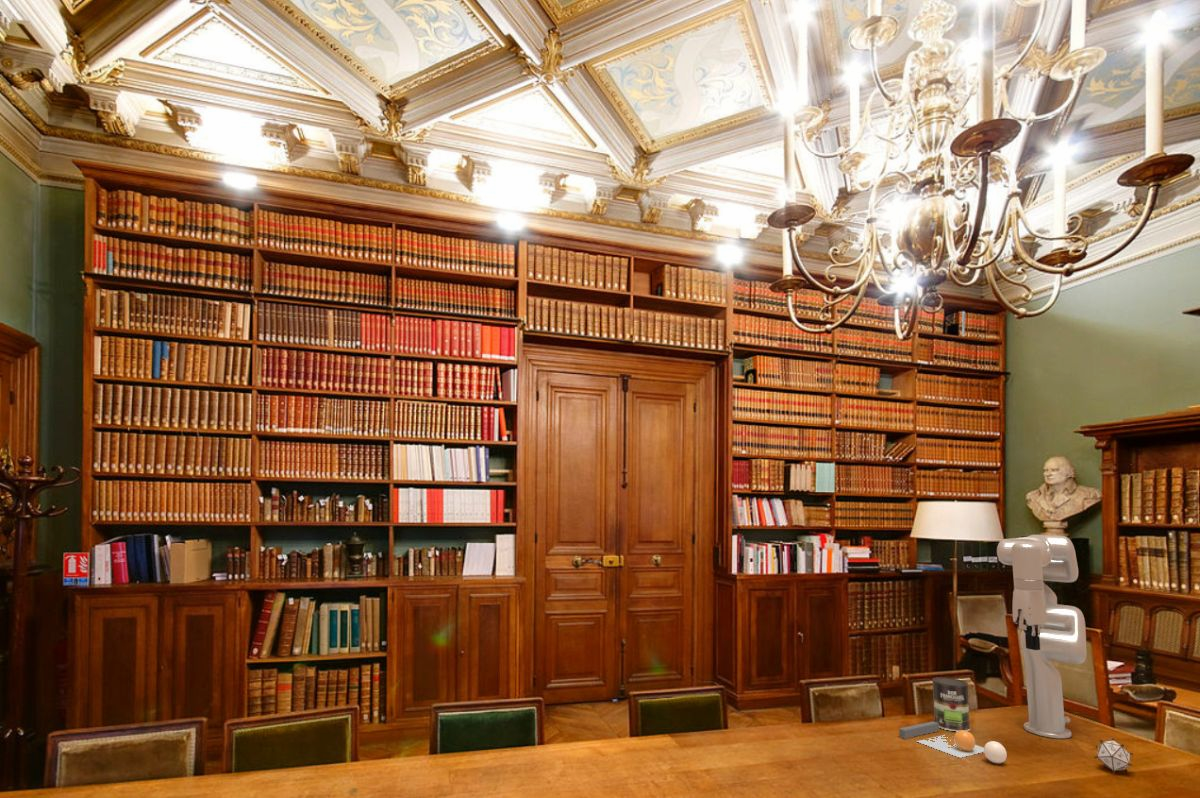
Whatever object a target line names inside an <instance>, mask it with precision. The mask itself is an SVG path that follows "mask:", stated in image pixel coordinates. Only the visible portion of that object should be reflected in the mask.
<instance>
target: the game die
mask: <svg viewBox="0 0 1200 798" xmlns="http://www.w3.org/2000/svg"><path fill="white" fill-rule="evenodd" d="M1099 742H1100V744H1099V745H1097V744H1096V745H1094V746H1095V748H1097V751H1096V752H1097V753H1096V755H1094V756H1093V758H1094V759H1098V760H1099V761H1100V762H1101V763H1102V764H1103V765H1102V767H1103V766H1105V767H1107V768H1108V769H1110V770H1111V771H1112V774H1113V773H1114V774H1113V775H1115V774H1116V772H1118V771H1123V770H1124V772H1126V773H1127V772H1128V770H1127V768H1128V767H1129V766H1131V767H1133V766H1134V765H1133V763H1131V756H1134V753H1133V752H1129V751H1128V750H1127V749H1126V748H1125V747H1124V746H1125V744H1124V743H1122V744H1120V743H1119V742H1117V741H1115V738H1114V737H1111V740H1106V741H1105V740H1104V741H1103V740H1102V738H1099Z"/></svg>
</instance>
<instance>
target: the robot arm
mask: <svg viewBox="0 0 1200 798" xmlns="http://www.w3.org/2000/svg"><path fill="white" fill-rule="evenodd" d="M996 555H997V557H998V558H997V559H998V561H999V562H1000V563H1001V564H1003V565H1007V566H1012V575H1013V591H1012V621H1013V623H1014V624H1017V625H1018V629H1020V630H1022V631H1021V633H1020V637H1019V638H1020V639H1019V640H1020V645H1021V650H1022V655H1023V659H1024V668H1025V680H1026V693H1027V694H1026V695H1027V708H1028V721H1027V722H1024V723H1023V728H1024V730H1025V731H1026V732H1029V733H1031V734H1034V735H1037V736H1041V737H1045V738H1052V739H1069V738H1071V737H1072V731H1071V730H1070V729H1068V728H1067V727H1066V724H1069V723H1071V718H1070V717H1069V716H1067V715H1066V716H1065V712H1064V710H1065V709H1064V695H1063V684H1062V683H1063V681H1062V676H1061V674H1060V672H1059V670H1058V669H1057V668H1056V667H1055V666H1054V664H1053V663H1052V662H1059V663H1065V664H1071V665H1072V664H1073V665H1075V664H1076V665H1080V664H1084V662H1085V661H1086V659H1087V634H1086V620H1085V617H1084V614H1083V612H1082V610H1081V609H1080V608H1078V607H1077V606H1073V605H1066V604H1065V605H1064V604H1059V603H1058V597H1057V595H1056V593H1055V592H1054V591H1053V590H1052V589H1051V588H1050V587H1049V586H1048V585H1047V584H1045V583H1044V581H1046V582H1060V583H1074V582H1076V581H1077V580H1078V577H1079V567H1078V565H1079V564H1078V561H1077V555H1076V550H1075V546H1074V544H1073V542H1072V540H1071V539H1070V538H1069V537H1067V536H1065V535H1057V534H1056V535H1052V534H1031V535H1028V536H1026V537H1025V536H1024V537H1016V538H1015V537H1012V538H1004V539H1001V540H1000V541H999V542H998V545H997V547H996Z"/></svg>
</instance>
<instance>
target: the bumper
mask: <svg viewBox="0 0 1200 798" xmlns="http://www.w3.org/2000/svg"><path fill="white" fill-rule="evenodd" d="M937 731H939V732H940V728H939V723H936V722H935V721H933V720H932V721H929V722H924V723H919V724H913V725H910V726H905V727H900V728H898V734H899V738H900V737H901V739H903V738H904V739H903V740H907V738H908V739H911V738H910V737H913V738H915V737H914V736H917V737H919V736H918V735H922V736H924V735H923V734H926V735H929V734H928V733H931V734H934V733H933V732H935V733H938V732H937Z"/></svg>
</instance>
